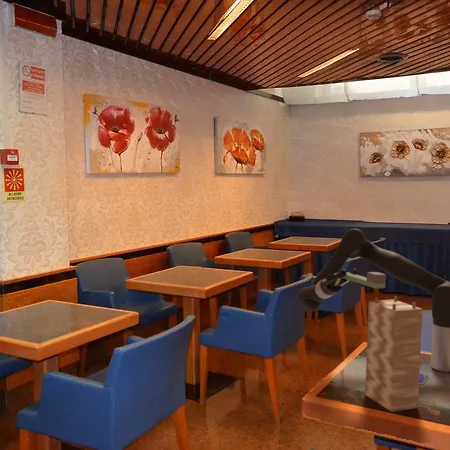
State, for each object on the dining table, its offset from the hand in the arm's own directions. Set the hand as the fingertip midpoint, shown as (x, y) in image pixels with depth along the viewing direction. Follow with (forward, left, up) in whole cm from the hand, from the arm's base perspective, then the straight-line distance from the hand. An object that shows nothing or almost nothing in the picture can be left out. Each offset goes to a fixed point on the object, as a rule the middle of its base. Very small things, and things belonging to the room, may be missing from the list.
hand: (350, 271), depth 191 cm
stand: (-5, +25, -39) cm, 46 cm away
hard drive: (-22, +6, -39) cm, 45 cm away
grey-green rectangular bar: (-1, +7, -3) cm, 7 cm away
